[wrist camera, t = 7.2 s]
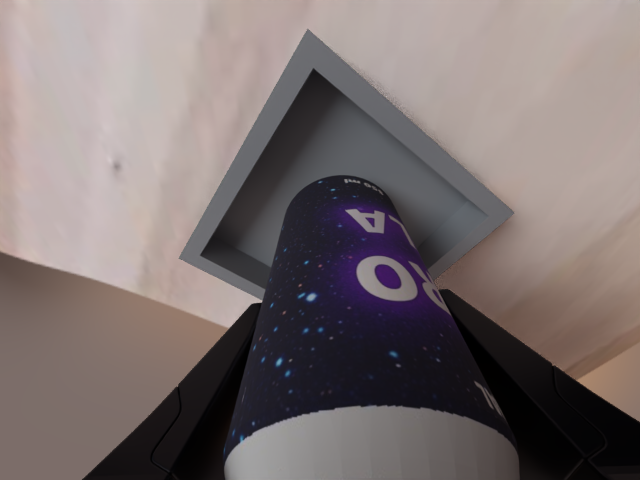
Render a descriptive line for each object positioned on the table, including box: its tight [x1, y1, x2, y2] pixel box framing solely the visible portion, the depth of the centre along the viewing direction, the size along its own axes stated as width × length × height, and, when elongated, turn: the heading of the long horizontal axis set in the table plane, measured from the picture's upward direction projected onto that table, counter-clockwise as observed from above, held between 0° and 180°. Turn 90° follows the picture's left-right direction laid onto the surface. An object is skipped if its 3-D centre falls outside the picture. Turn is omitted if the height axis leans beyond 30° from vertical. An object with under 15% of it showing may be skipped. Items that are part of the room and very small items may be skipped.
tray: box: [179, 29, 514, 300], centre depth 15 cm, size 12×12×3 cm
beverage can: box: [223, 175, 520, 480], centre depth 10 cm, size 6×6×12 cm
